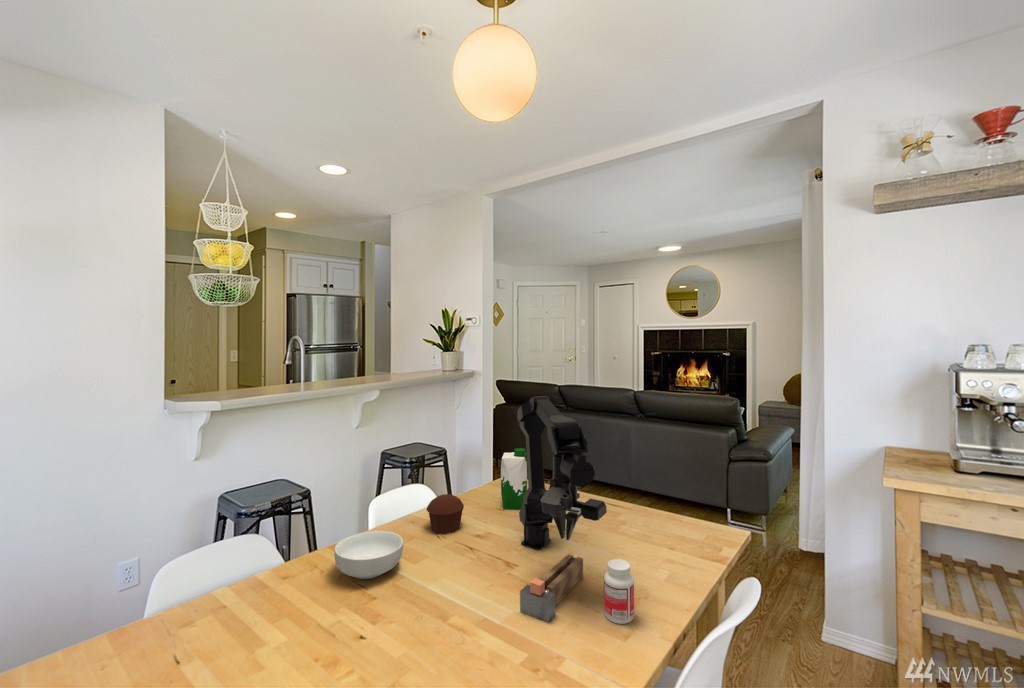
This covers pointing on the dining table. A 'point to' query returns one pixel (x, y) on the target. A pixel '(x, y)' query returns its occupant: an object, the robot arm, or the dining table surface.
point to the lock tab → (537, 587)
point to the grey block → (537, 604)
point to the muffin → (445, 514)
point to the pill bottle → (619, 592)
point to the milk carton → (514, 479)
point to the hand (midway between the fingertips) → (565, 539)
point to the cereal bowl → (368, 554)
